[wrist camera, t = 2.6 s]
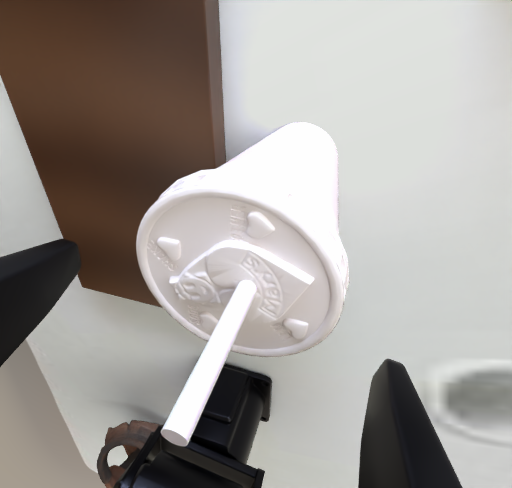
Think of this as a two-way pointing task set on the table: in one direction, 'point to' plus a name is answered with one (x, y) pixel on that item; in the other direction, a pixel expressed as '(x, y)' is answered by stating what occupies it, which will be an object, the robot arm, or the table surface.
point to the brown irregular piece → (132, 441)
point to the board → (113, 115)
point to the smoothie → (248, 257)
